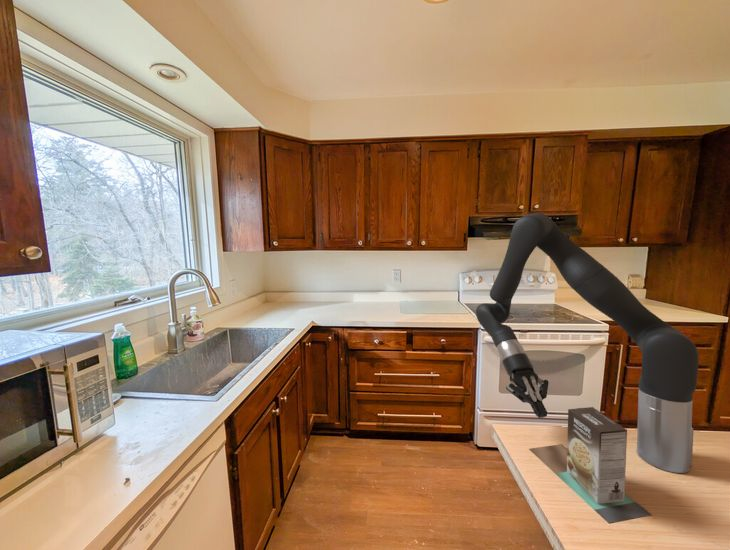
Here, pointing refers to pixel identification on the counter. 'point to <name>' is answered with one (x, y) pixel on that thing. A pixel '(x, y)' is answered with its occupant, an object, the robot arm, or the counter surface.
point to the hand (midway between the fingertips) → (543, 416)
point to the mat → (610, 512)
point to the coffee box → (597, 454)
